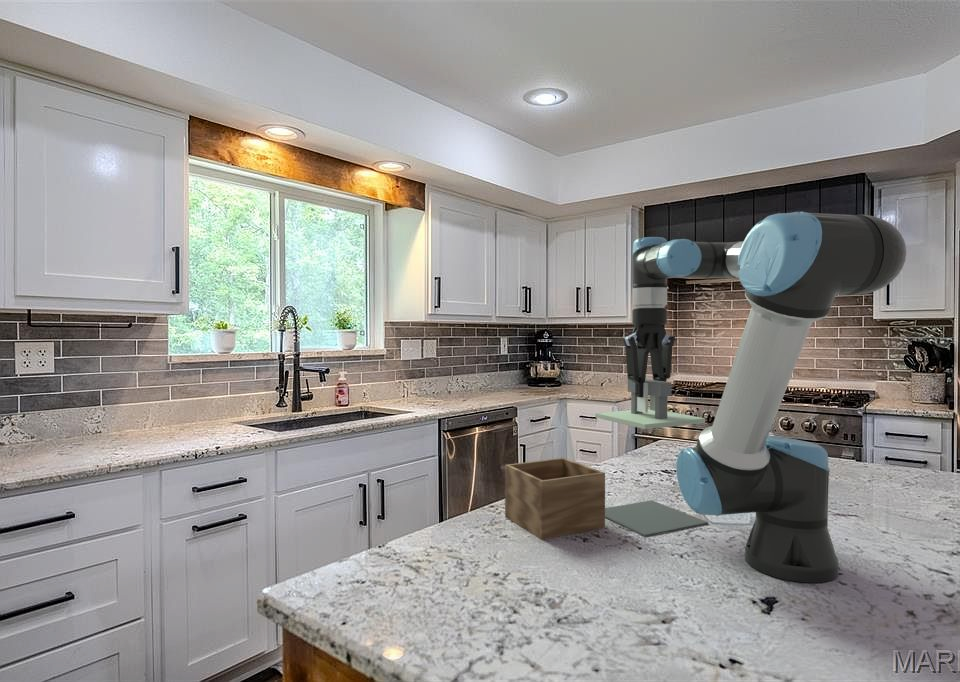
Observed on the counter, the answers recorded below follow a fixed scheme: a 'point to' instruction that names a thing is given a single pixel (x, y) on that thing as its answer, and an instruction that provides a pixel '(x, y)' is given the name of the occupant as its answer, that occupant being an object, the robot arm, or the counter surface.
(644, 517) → the mat
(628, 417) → the lid
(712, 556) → the counter surface
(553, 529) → the crate
